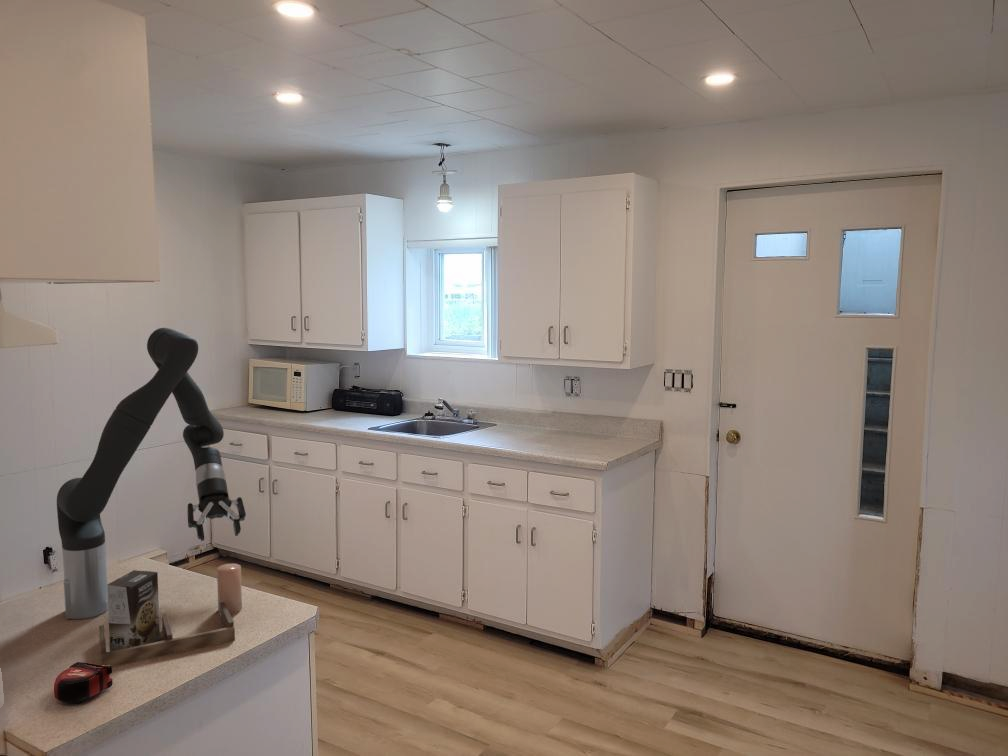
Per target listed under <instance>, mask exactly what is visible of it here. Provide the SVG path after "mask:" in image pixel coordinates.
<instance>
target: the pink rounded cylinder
mask: <svg viewBox="0 0 1008 756" xmlns="http://www.w3.org/2000/svg"><path fill="white" fill-rule="evenodd" d="M216 573H217V574H216V581H217V585H216V586H217V612H218V613H219V614H220V603H222V602H224V603H225V605H226V607H227V609H228V611H229V613H230V615H234V614H233V613H235V614H237V613H239V612H241V611H242V610H241V609H243V602H242V601H243V597H242V595H243V593H242V565H240V564H238V563H225V564H221V565H219V566H217V568H216ZM240 610H241V611H240ZM236 612H237V613H236Z"/></svg>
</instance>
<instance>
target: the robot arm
mask: <svg viewBox="0 0 1008 756" xmlns="http://www.w3.org/2000/svg"><path fill="white" fill-rule="evenodd" d="M146 350H147V353H148V355H149V357H150V358H151V360H152V362H153V363H154V364H155V365H154V366H156V368H157V369H158V370H157V371H156V373H154V375H153V377H152V378H151V379H150V380H148V382H147V383H145V384H144V385H142V386H141V387H139V388H138V389H136V390H135V391H133V392H131V393H130V394H129V395H127V396H126V397H124V398H123V399H121V400H120V402H119V403H118V404H116V407H115V409H113V412H112V413H111V415H110V416H109V418H108V419H107V422H106V423H105V426H104V427H103V429H102V433H101V435H100V438H99V441H98V444H97V449H96V452H95V455H94V457H93V460H92V462H91V464H90V465H89V467H88V468H87V469H86V471H85V472H84V474H83V475H82V477H75V478H72V479H68V480H67V481H66V482H64V483H63V484H62V485H61V486H60V488H59V490H58V492H57V495H56V511H57V526H58V533H59V536H60V537H59V538H60V539H61V540H60V541H61V550H62V552H61V553H62V554H61V555H62V570H63V591H64V593H63V594H64V609H65V611H64V612H65V620H70V619H73V620H83V619H90V618H94V617H97V616H99V615H102V614H104V613H106V612H107V611H108V591H107V584H108V569H107V550H106V533H105V530H104V526H103V524H102V520H101V514H102V512H103V511H104V509H105V508H106V506H107V505H108V503H109V501H110V498H111V496H112V494H113V491H114V489H115V487H116V485H117V483H118V481H119V479H120V477H121V475H122V473H123V472H124V470H125V469H126V467H127V465H128V464H129V462H130V461H131V459H132V458H133V456H134V454H135V453H136V451H137V449H138V448H139V446H140V445H141V443H142V441H144V439H145V437H146V435H147V434H148V432H149V430H150V429H151V427H152V425H153V424H154V421H155V420H156V418H157V416H158V415H159V413H160V412H161V410H162V408H163V407H164V406H165V404H166V403H167V400H168V399H169V397H170V396H171V395H173V397H174V399H175V402H176V404H177V407H178V409H179V412H180V414H181V417H182V419H183V421H184V422H185V423H186V424H187V426H185V427H184V429H183V432H182V437H183V441H184V442H185V445H186V447H188V449H189V451H190V453H191V455H192V459H193V464H194V470H195V486H196V491H197V495H198V496H197V497H198V504H193V503H190V502H189V503H188V504H187V508H186V509H187V510H186V512H187V527H188V528H190V529H191V528H194V529H196V535H197V536H196V537H197V539H198V540H200V542H204V541H205V533H204V532H205V531H204V526H203V524H205V522H206V521H207V519H209V520H213V519H216V518H218V519H220V518H223V517H225V518H226V519H227V520H229V521H231V522H232V526H233V527H232V528H233V531H234V536H235V537H238V536H239V534H240V533H241V531H242V529H241V522H243V521H245V519H246V515H247V513H246V509H245V506H244V502H243V498H242V497H241V496H239V497H237V498H236V499H232V500H231V498H230V497H229V491H228V485H227V479H226V474H225V470H224V469H223V468H224V467H223V462H222V457H221V453H220V451H219V449H217V448H216V447H210V446H212V445H215V444H219V443H220V442H221V441H222V440H223V439H224V435H225V433H224V428H223V426H222V424H221V423H220V421H219V420H218V419H217V418H216V417H215V416H214V415H213V414H212V412H211V411H210V409H209V407H208V404H207V402H206V398H205V395H204V393H203V392H202V390H201V388H200V386H198V384H197V383H196V381H195V380H194V379H193V378H192V376H191V375H190V374H189V372H188V371H189V370H190V369H191V367H192V366H193V364H194V362H195V360H196V359H197V356H198V354H199V344H198V341H197V340H196V339H195V338H194V337H192V336H190V335H188V334H185V333H183V332H179V331H177V330H175V329H172V328H168V327H160V328H157V329H155V330H153V331H152V333H151V334H150V335H149V337H148V339H147V343H146ZM232 506H233V507H234V508H235V509H237V512H238V514H237V513H235V511H234V510H233V509H232V508H231V507H232ZM197 510H198V511H199V512H200V513H201V515H200V516H199V518H198V519H197V520H195V518H194V514H196V513H197Z"/></svg>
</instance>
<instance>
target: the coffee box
mask: <svg viewBox="0 0 1008 756" xmlns="http://www.w3.org/2000/svg"><path fill="white" fill-rule="evenodd" d="M158 579H159V577H158V571H150V570H137V569H136V570H135V569H134V570H132V571H130V572H128V573H126V574H125V575H122V576H120V577H119V578H117V579H115V580H113V581H111V582H110V583H107V591H108V609H107V611H108V612H107V613H108V615H107V617H108V618H107V619H108V638H109V640H108V641H109V652H110V651H115V650H120V649H125V648H129V647H134V646H139V645H144V644H149V643H154V642H158V640H160V639H161V636H160V635H161V631H160V629H161V628H160V606H159V583H158V582H159V581H158Z"/></svg>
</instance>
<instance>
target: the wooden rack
mask: <svg viewBox="0 0 1008 756" xmlns="http://www.w3.org/2000/svg"><path fill="white" fill-rule="evenodd" d="M219 614H220V615H219V619H220V621H221V623H222V626H223V625H224V626H223V628H218V629H213V630H207V631H203V632H199V633H193V634H188V635H184V636H179V637H174V638H173V632H172V629H171V625H170V622H169V619H168V618H169V617H168V614H167V612H165V613H161V627H162V628H161V629H162V635H163V639H164V640H160V641H155V642H154V643H149V644H144V645H139V646H134V647H129V648H125V649H120V650H115V651H110V650H109V651H107V643H106V635H105V633H106V632H105V625H104V624H102V625H98V634H99V635H98V636H99V638H98V639H99V651H100V659H101V660H100V661H101V666H102V665H110V666H112V667H117V666H121V665H125V664H130V663H131V664H132V663H135V662H139V661H144V660H149V659H154V658H158V657H164V656H169V655H173V654H177V653H182V652H186V651H191V650H195V649H199V648H200V649H201V648H205V647H209V646H214V645H218V644H219V643H220V644H224V643H229V642H232V641H233V640H234V641H236V635H235V634H236V633H235V630H236V629H235V625H234V624H235V623H234V620H233V617H232V616H231V615H232V614H230V613H229V611H228V609H227V607H226V605H225V603H224V602H222V603H220V613H219ZM220 644H219V645H220Z"/></svg>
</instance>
